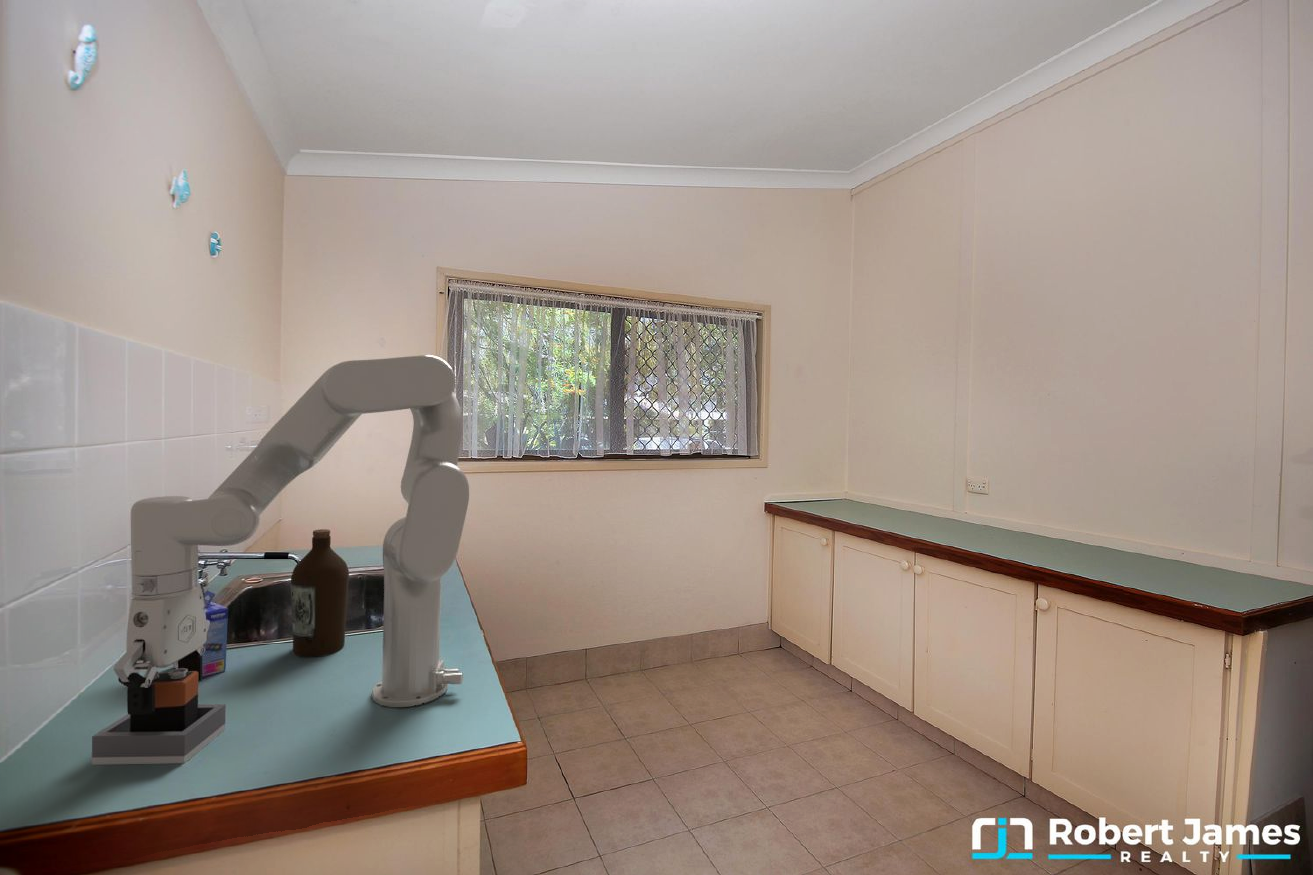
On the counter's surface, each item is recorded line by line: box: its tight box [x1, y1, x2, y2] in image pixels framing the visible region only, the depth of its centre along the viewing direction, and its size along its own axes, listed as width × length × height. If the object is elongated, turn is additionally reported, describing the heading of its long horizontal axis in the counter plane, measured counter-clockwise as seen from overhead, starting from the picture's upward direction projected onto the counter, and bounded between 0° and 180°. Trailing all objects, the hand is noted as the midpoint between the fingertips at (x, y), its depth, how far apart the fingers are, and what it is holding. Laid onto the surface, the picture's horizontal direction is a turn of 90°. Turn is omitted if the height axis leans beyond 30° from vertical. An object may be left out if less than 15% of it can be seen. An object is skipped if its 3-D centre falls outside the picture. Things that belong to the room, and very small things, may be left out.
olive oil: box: [290, 528, 350, 658], centre depth 124 cm, size 11×11×25 cm
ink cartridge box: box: [172, 590, 229, 678], centre depth 112 cm, size 10×6×14 cm, turn 58°
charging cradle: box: [91, 703, 227, 766], centre depth 87 cm, size 12×9×4 cm
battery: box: [130, 668, 199, 732], centre depth 87 cm, size 4×7×10 cm, turn 103°
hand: (167, 696), depth 87 cm, fingers open, 9 cm apart
